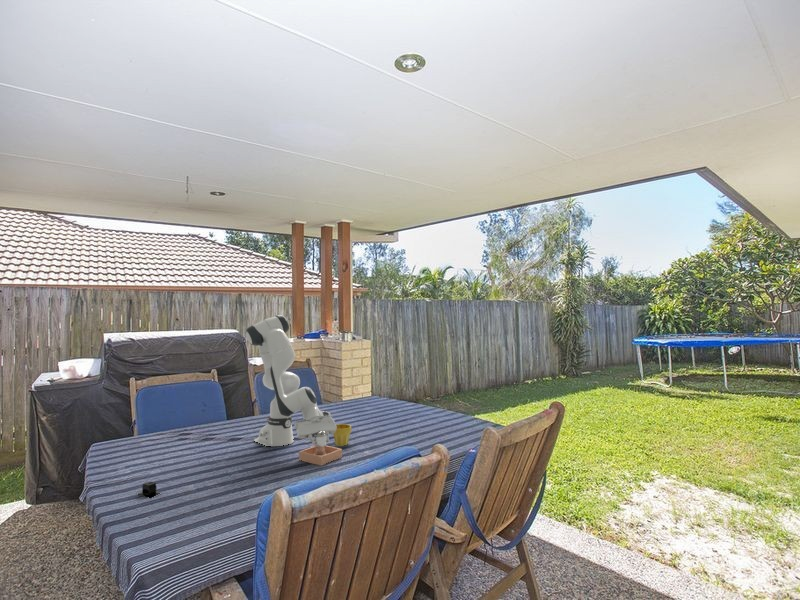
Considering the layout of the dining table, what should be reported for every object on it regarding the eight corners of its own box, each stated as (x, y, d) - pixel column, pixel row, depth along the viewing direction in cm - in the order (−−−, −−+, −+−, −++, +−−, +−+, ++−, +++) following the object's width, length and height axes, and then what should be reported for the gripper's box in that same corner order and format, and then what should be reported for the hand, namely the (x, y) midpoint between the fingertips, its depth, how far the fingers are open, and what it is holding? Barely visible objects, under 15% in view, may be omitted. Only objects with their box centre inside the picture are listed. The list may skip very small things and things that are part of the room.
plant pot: (333, 448, 231) (333, 429, 231) (330, 442, 241) (330, 424, 241) (352, 446, 234) (352, 427, 234) (349, 441, 243) (349, 423, 244)
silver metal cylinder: (312, 454, 213) (312, 431, 213) (320, 451, 218) (320, 428, 218) (320, 456, 210) (320, 433, 210) (329, 453, 215) (329, 430, 215)
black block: (168, 494, 172) (168, 482, 172) (150, 501, 165) (151, 489, 165) (147, 489, 177) (147, 477, 177) (129, 496, 170) (129, 484, 171)
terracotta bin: (298, 459, 212) (299, 451, 212) (320, 452, 224) (320, 444, 224) (321, 465, 204) (321, 456, 204) (342, 457, 216) (342, 449, 216)
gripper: (295, 417, 214) (303, 442, 206) (332, 412, 226) (341, 435, 218) (291, 424, 217) (299, 449, 209) (328, 419, 229) (337, 442, 221)
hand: (321, 442), depth 213 cm, fingers closed on silver metal cylinder, 5 cm apart
